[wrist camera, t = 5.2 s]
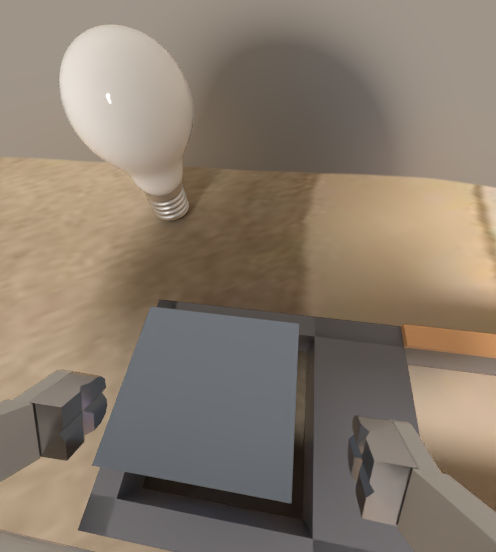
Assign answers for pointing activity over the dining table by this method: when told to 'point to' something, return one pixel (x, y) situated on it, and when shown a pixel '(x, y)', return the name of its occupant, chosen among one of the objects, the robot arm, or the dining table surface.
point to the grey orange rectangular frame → (318, 444)
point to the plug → (208, 404)
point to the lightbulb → (131, 109)
